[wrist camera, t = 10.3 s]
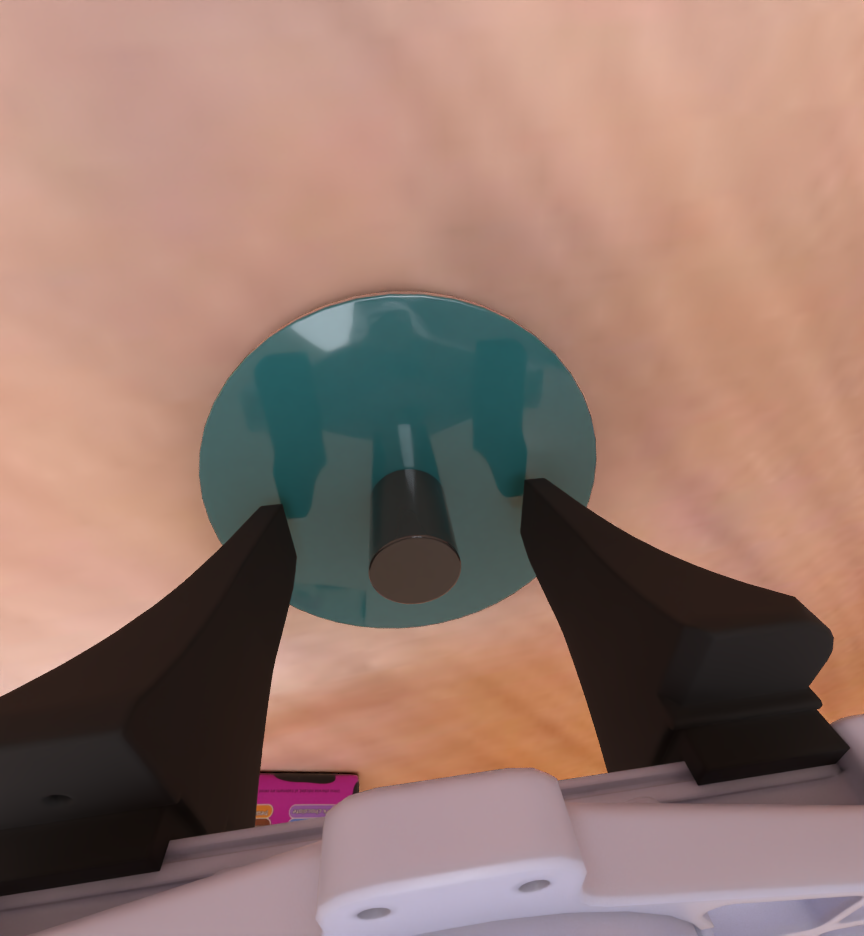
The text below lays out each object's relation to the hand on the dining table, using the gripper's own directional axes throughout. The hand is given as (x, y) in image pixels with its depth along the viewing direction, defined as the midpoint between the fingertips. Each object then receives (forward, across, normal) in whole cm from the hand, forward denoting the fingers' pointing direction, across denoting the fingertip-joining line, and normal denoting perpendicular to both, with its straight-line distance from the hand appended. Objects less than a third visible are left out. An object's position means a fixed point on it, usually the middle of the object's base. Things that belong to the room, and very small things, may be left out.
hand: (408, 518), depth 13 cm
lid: (+2, 0, 0) cm, 2 cm away
